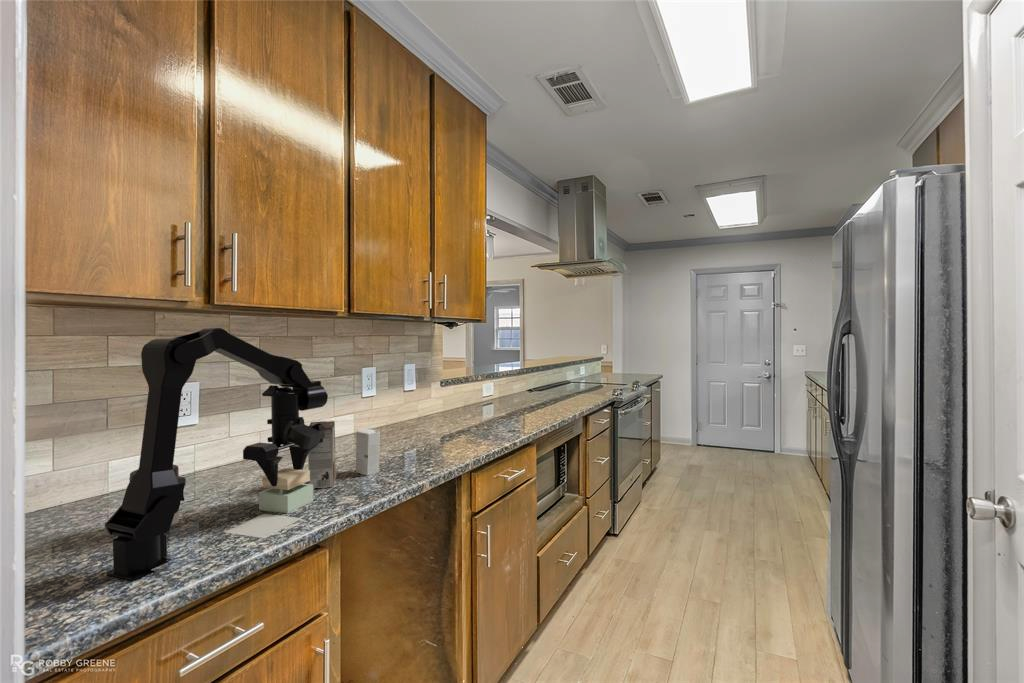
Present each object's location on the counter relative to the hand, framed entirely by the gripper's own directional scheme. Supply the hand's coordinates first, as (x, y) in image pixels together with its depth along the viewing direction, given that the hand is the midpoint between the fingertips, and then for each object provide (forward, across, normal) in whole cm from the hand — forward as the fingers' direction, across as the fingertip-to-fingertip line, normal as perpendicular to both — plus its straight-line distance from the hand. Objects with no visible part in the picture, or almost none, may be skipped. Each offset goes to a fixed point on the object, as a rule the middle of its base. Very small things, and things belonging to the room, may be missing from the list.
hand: (286, 481), depth 107 cm
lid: (+1, 0, 0) cm, 1 cm away
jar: (+6, -16, +19) cm, 26 cm away
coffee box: (+6, +17, +4) cm, 19 cm away
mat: (+6, -10, -4) cm, 13 cm away
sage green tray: (+6, 0, 0) cm, 6 cm away
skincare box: (+6, +29, -2) cm, 30 cm away
